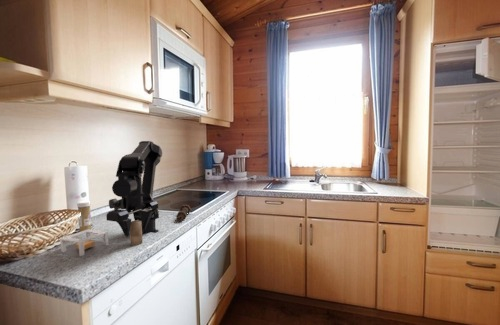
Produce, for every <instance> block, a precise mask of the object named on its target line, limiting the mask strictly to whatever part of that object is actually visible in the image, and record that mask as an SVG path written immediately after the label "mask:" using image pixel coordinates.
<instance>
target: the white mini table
mask: <svg viewBox="0 0 500 325" xmlns="http://www.w3.org/2000/svg"><path fill="white" fill-rule="evenodd" d="M83 234H85V238H83V239H81V238H76V237H78V236H81V235H83ZM92 234H93V235H92ZM102 236H103V241H100V240H95V239H96V238H99V237H102ZM89 240H91V241H95V245H94V246H92V247H90V248H87V249H85V250H84V242H86V241H89ZM59 242H60V248H58V249H57V250H56V249H55V250H53V251H52V253H55V254H61V255H64V256H70V257H74V258H78V259H79V258H80V259H84V260H86V259H88V258H91V257H92V256H95V255H97V254H98V253H101V252H103V251H105V250H108V249H110V248H112V247H114V246H117V245H118V243H117V244H116V243H111V242H109V232H108V231H103V230H98V229H92V228H91V229H87V230H84V231H81V232H80V231H78V232H76V233H73V234H70V235H67V236H64V237H61V238H60V239H59ZM67 242H71V243H72V244H70V245H67V246H66V243H67ZM77 243H79V249H77V248H76V244H77Z"/></svg>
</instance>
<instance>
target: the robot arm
mask: <svg viewBox="0 0 500 325" xmlns="http://www.w3.org/2000/svg"><path fill="white" fill-rule="evenodd" d="M162 156H163V150H162V148H161V146H160V145H158V144H155V143H154V142H153V141H152V140H141V141H139V142H138V146H136V147H135V148H134V150H133V151H132V152H131V153H128V154H124V156H122V157H121V159H119V162H118V165H117V170H116V172H115V173H116V175H115V177H116V178H117V180H115V181H114V182H113V184H112V187H111V189H112V193H113V194H114V195H115V196H117V197H120V199H117V198H115V197H114V198H111V199H109V200H108V206H109V208H110V211H108V212H107V214H106V221H107V222H115V223H117V224H118V225H119V227H120V228H121V231H122V232H123V235H124V236H125V238H129V237H130V226H131V221H132V218H129V217H130V215H131V214H132V215H133V221H136V220H140V221H141V222H142V235H146V234H150V233H152V234H156V233H158V232H159V229H156V220H157V219H160V216H159V215H160V213H159V212H160V211H159V203H158V202H157V200H155V199H154V197H153V193H154V186H155V185H154V184H155V176H156V167H157V166H158V165H159V163H160V162H161V159H162ZM142 174H143V175H142ZM111 209H114V210H111Z"/></svg>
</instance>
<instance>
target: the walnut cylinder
mask: <svg viewBox="0 0 500 325" xmlns="http://www.w3.org/2000/svg"><path fill="white" fill-rule="evenodd" d="M129 237H130V238H129V240H130V242H129V243H130V246H132V247H135V246H139V245H142V244H143V242H144V241H143V234H142V222H141V221H140V220H131V226H130V233H129Z"/></svg>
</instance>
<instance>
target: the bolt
mask: <svg viewBox="0 0 500 325" xmlns="http://www.w3.org/2000/svg"><path fill="white" fill-rule="evenodd" d="M191 211H192V208H191V207H190V205H189V204H182V206H181V207H180V209H179V211H178V212H177V214H176V216H175V217H176V220H177V222H183V221H185V220H186V217H187V216H188V214H187V213H189V214H190V212H191ZM184 219H185V220H184Z"/></svg>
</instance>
